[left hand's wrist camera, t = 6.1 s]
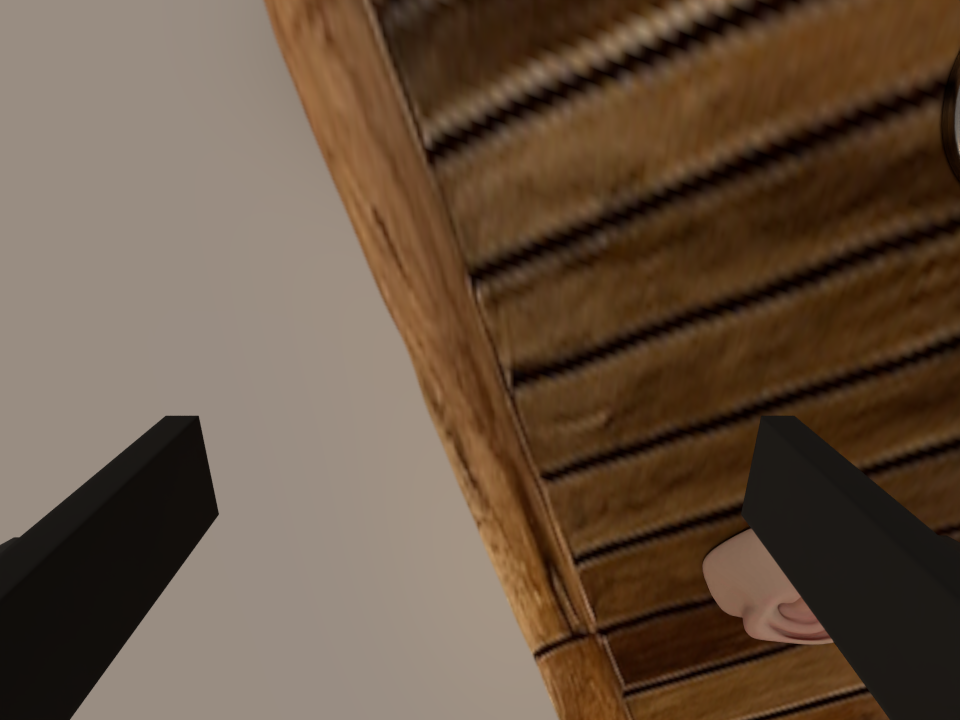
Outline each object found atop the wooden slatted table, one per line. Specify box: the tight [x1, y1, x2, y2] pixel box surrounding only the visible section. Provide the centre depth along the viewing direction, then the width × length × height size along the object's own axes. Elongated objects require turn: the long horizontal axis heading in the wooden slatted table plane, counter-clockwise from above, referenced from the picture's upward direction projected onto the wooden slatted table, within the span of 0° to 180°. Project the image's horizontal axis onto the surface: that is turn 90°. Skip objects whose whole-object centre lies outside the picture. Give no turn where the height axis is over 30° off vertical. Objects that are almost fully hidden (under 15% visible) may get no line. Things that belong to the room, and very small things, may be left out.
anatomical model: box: [703, 528, 833, 644], centre depth 45 cm, size 13×4×12 cm
